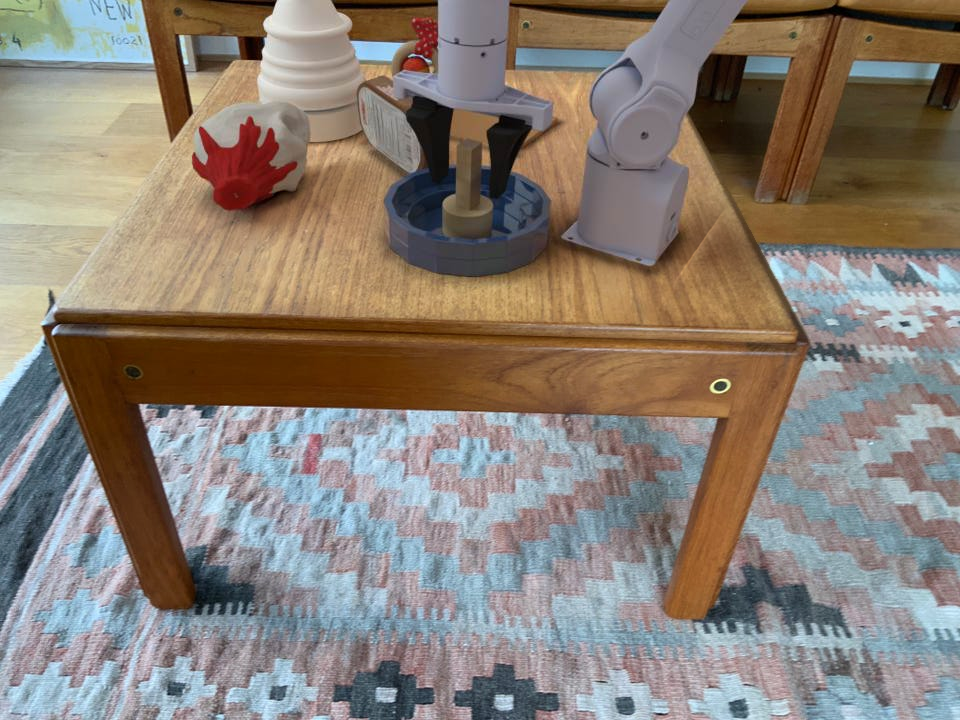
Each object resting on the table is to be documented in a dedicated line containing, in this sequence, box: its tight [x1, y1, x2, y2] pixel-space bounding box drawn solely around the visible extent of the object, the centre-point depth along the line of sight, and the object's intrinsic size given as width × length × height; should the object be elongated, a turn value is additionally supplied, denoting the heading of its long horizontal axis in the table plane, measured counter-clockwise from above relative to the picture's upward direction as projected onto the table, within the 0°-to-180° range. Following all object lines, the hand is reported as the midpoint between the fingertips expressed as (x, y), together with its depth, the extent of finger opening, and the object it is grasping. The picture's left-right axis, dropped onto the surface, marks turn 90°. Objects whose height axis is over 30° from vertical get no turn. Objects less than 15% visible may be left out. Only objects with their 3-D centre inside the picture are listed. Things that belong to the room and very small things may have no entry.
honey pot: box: [256, 0, 367, 143], centre depth 91 cm, size 13×13×18 cm
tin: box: [356, 75, 428, 174], centre depth 86 cm, size 15×3×8 cm, turn 34°
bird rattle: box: [390, 16, 438, 78], centre depth 100 cm, size 6×11×9 cm
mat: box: [450, 109, 558, 150], centre depth 97 cm, size 12×12×1 cm
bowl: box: [382, 163, 552, 278], centre depth 75 cm, size 16×16×4 cm
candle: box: [191, 101, 311, 212], centre depth 79 cm, size 9×11×15 cm
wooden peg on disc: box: [442, 138, 493, 239], centre depth 73 cm, size 5×5×9 cm
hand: (468, 186), depth 73 cm, fingers open, 5 cm apart
